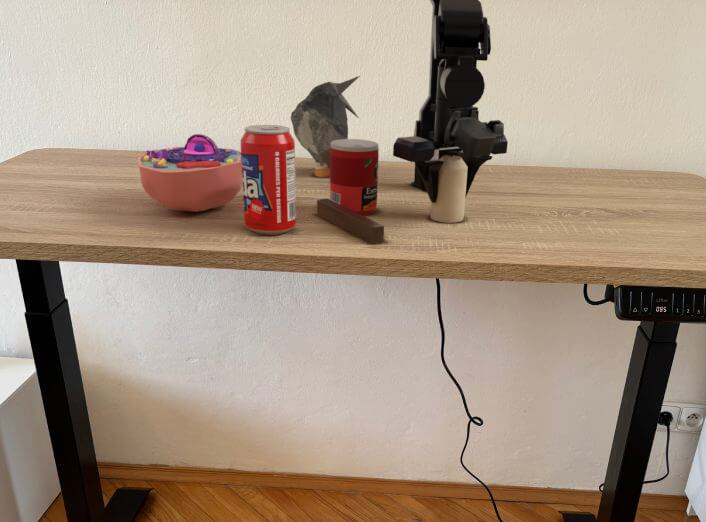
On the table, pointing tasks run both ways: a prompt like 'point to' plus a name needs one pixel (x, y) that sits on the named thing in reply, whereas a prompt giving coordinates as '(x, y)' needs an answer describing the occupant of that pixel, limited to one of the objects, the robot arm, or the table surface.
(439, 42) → the robot arm
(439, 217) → the candle
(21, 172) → the table surface
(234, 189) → the cell model
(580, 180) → the table surface
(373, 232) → the walnut rail
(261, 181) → the soda can
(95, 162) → the table surface
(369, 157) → the canned food
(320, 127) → the grey bird figurine
